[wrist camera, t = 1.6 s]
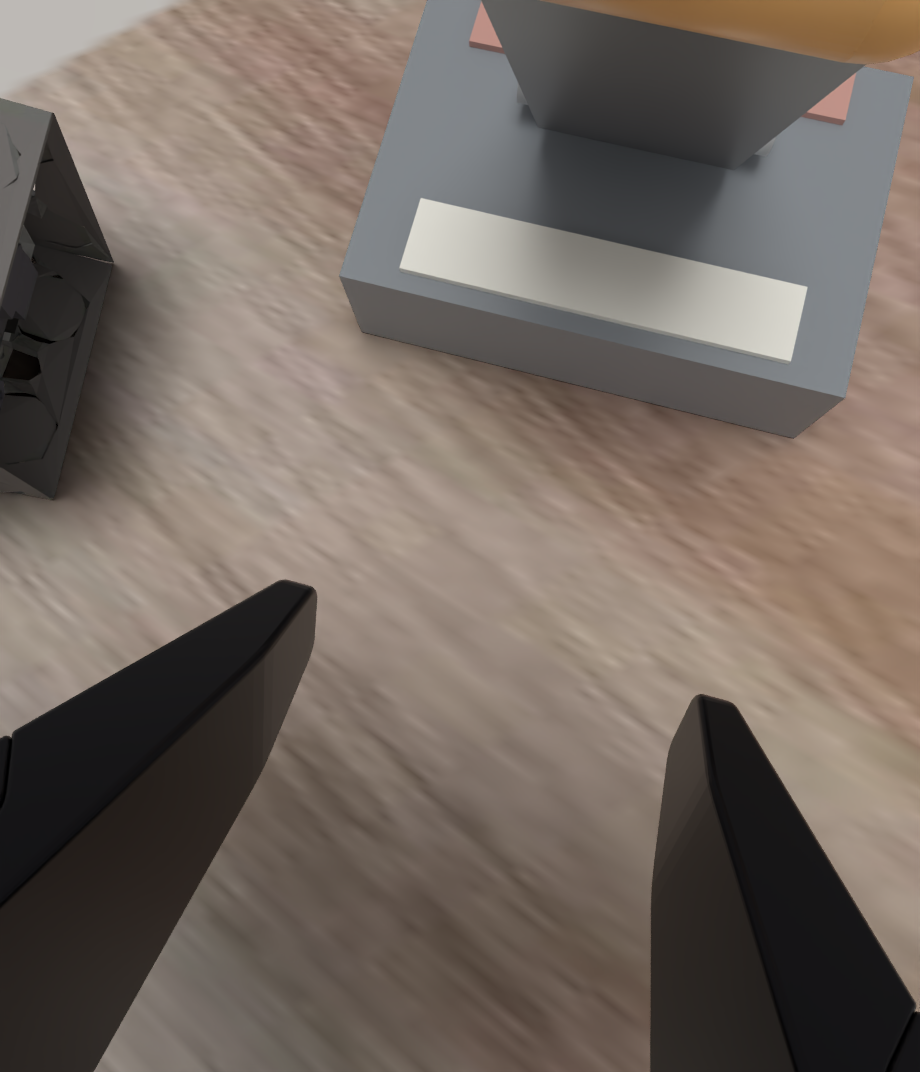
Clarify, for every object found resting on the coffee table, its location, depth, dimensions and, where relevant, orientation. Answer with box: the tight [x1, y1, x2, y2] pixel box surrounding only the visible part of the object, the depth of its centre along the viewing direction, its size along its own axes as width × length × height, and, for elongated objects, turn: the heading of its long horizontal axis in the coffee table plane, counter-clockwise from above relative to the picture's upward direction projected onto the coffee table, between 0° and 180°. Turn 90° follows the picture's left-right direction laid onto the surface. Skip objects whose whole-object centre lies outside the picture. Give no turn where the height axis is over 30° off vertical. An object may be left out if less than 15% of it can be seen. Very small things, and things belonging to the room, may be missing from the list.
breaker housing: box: [339, 0, 914, 438], centre depth 23 cm, size 9×13×4 cm
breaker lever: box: [481, 0, 920, 170], centre depth 15 cm, size 3×7×14 cm, turn 75°
